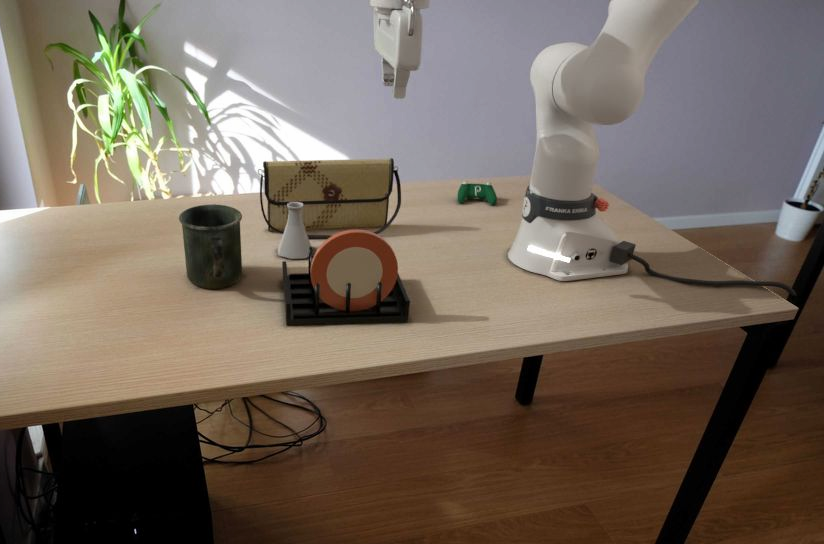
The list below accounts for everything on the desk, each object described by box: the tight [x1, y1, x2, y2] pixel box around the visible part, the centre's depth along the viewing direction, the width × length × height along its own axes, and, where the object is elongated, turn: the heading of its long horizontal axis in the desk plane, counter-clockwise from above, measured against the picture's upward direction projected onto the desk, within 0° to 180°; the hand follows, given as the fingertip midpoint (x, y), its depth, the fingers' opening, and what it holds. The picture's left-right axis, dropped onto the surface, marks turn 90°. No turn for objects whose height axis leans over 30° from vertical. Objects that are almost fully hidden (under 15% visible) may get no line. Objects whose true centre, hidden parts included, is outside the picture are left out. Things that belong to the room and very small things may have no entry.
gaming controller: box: [457, 180, 498, 206], centre depth 158 cm, size 9×4×6 cm
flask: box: [277, 202, 312, 260], centre depth 129 cm, size 7×7×10 cm
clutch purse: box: [257, 157, 402, 239], centre depth 137 cm, size 30×7×15 cm, turn 99°
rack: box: [281, 245, 411, 327], centre depth 113 cm, size 20×16×7 cm
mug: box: [178, 204, 243, 290], centre depth 117 cm, size 11×15×12 cm
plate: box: [310, 228, 399, 311], centre depth 106 cm, size 14×1×14 cm, turn 95°
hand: (393, 91), depth 105 cm, fingers open, 8 cm apart
